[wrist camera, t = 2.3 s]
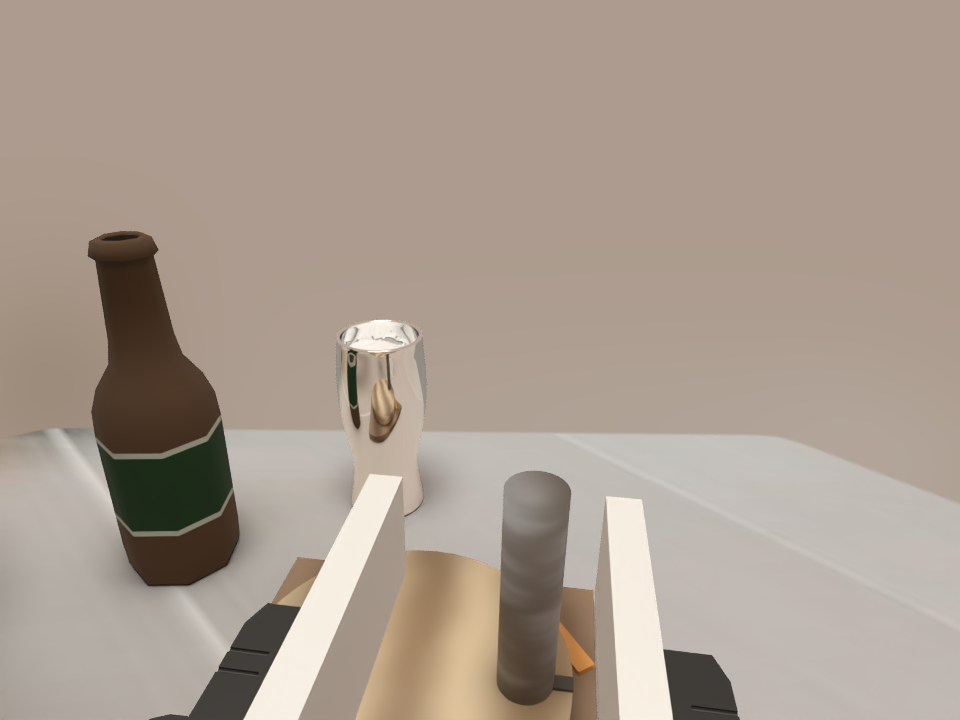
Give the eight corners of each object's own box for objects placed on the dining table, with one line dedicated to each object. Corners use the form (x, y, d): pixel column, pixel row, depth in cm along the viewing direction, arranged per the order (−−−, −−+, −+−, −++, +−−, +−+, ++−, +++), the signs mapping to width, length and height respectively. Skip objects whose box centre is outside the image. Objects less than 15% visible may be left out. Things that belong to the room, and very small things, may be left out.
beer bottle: (130, 535, 51) (52, 227, 41) (235, 510, 54) (187, 217, 44) (127, 604, 44) (35, 259, 35) (247, 571, 47) (194, 245, 38)
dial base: (114, 904, 29) (106, 884, 28) (299, 570, 48) (297, 554, 47) (600, 993, 26) (603, 974, 26) (591, 603, 45) (593, 587, 45)
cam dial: (160, 853, 29) (81, 597, 23) (309, 571, 46) (287, 377, 39) (566, 923, 27) (599, 661, 21) (571, 601, 43) (590, 401, 37)
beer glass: (406, 466, 60) (400, 312, 54) (443, 506, 55) (442, 340, 49) (333, 489, 57) (319, 328, 51) (366, 534, 51) (354, 360, 45)
